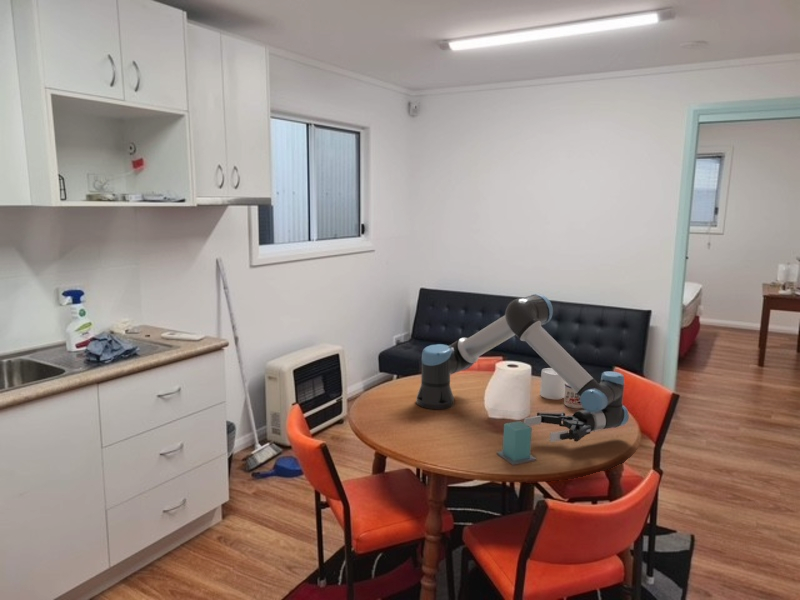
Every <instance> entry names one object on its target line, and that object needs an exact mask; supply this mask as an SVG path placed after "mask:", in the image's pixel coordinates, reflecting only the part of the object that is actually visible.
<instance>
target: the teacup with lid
mask: <svg viewBox="0 0 800 600" xmlns="http://www.w3.org/2000/svg"><path fill="white" fill-rule="evenodd" d="M563 401H564V402H563V404H564V405H565V407H568V408H571V409H584V408H583V407H582V405H581V402H580V396H579V395H578V394H577V393H576V392H575V391H574V390H573V389H572V388H571V387H570V386H569V385H568V384H567V383H566V382H565V396H564V398H563Z"/></svg>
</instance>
